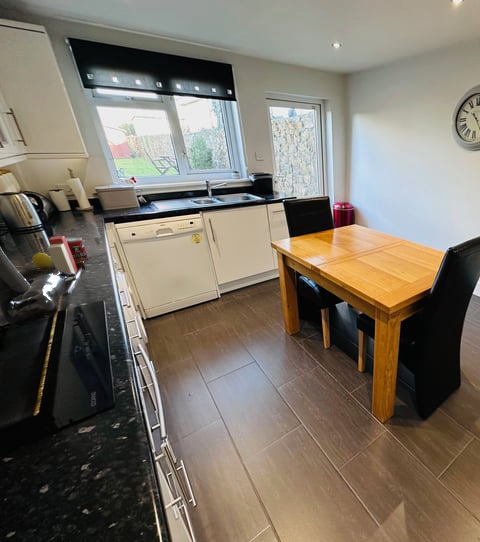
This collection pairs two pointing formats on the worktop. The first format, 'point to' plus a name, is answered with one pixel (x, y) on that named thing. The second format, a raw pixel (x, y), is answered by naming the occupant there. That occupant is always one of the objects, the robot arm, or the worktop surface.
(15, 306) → the robot arm
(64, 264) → the block
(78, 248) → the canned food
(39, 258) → the lemon
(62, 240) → the marker red
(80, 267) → the score rail
